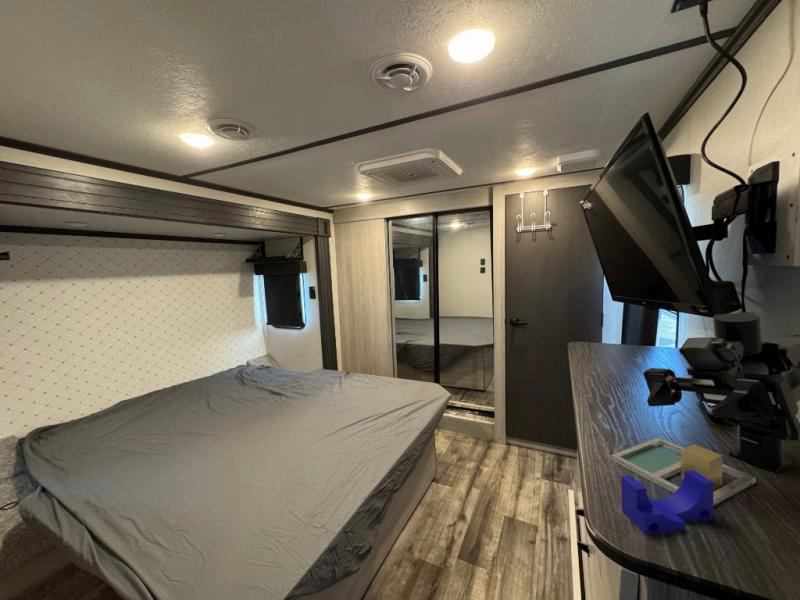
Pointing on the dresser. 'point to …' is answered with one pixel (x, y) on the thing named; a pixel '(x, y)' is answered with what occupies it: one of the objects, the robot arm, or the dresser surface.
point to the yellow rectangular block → (702, 463)
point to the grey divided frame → (672, 467)
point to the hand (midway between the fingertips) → (678, 408)
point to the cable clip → (668, 504)
